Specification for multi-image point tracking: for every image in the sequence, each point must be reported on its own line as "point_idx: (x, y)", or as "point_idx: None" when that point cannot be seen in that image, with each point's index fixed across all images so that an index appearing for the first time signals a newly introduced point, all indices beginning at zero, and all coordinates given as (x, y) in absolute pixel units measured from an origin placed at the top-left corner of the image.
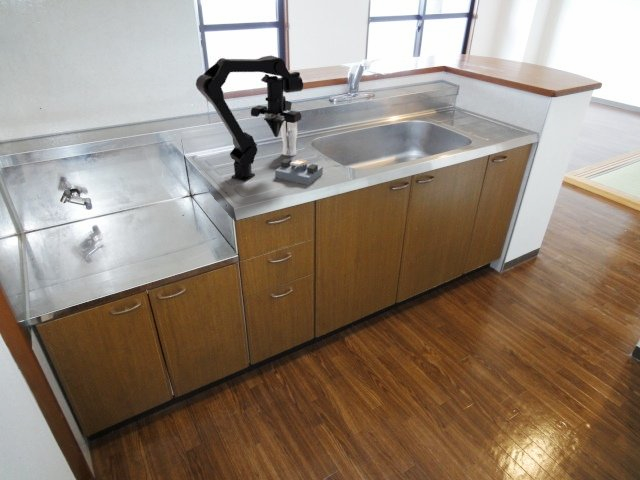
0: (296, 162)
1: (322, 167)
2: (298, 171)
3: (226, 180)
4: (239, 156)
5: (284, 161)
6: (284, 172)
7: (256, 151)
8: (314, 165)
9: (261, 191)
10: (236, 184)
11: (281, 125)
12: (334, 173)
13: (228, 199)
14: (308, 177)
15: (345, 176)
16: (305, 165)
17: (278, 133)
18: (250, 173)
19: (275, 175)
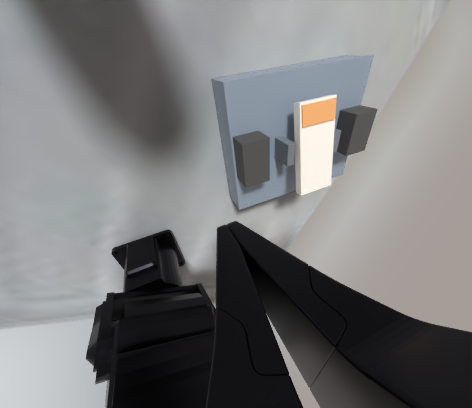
0: (314, 168)
1: (370, 57)
2: None
3: None
4: (119, 310)
5: (254, 174)
6: (272, 198)
7: (205, 303)
8: (366, 121)
9: None
10: (182, 279)
11: (349, 293)
12: (385, 11)
13: None
14: (342, 173)
15: (419, 15)
16: (335, 141)
17: (256, 240)
18: (173, 251)
19: (233, 199)
